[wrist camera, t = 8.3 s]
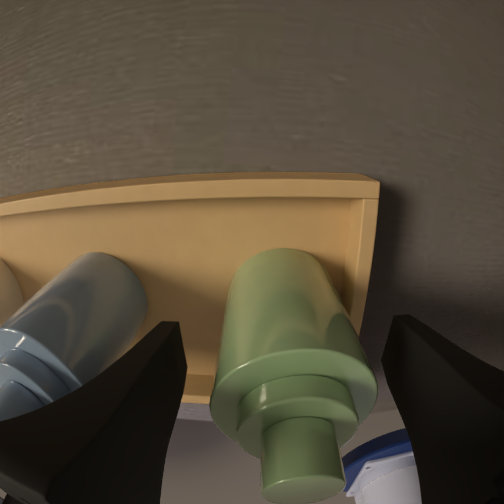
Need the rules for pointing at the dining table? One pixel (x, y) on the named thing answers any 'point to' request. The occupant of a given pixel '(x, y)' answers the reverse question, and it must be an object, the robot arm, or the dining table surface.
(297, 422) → the sage bottle
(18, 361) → the blue bottle
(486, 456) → the robot arm
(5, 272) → the cream bottle
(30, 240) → the tray
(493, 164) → the dining table surface
